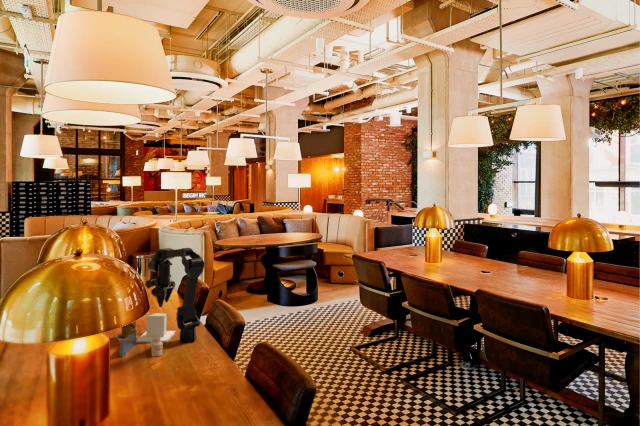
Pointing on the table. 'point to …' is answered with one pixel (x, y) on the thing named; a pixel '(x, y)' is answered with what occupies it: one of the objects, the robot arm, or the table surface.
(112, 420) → the table surface
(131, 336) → the rack
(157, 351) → the offcut stack
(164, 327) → the grey upright block
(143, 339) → the mat
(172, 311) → the table surface
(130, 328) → the condiment
